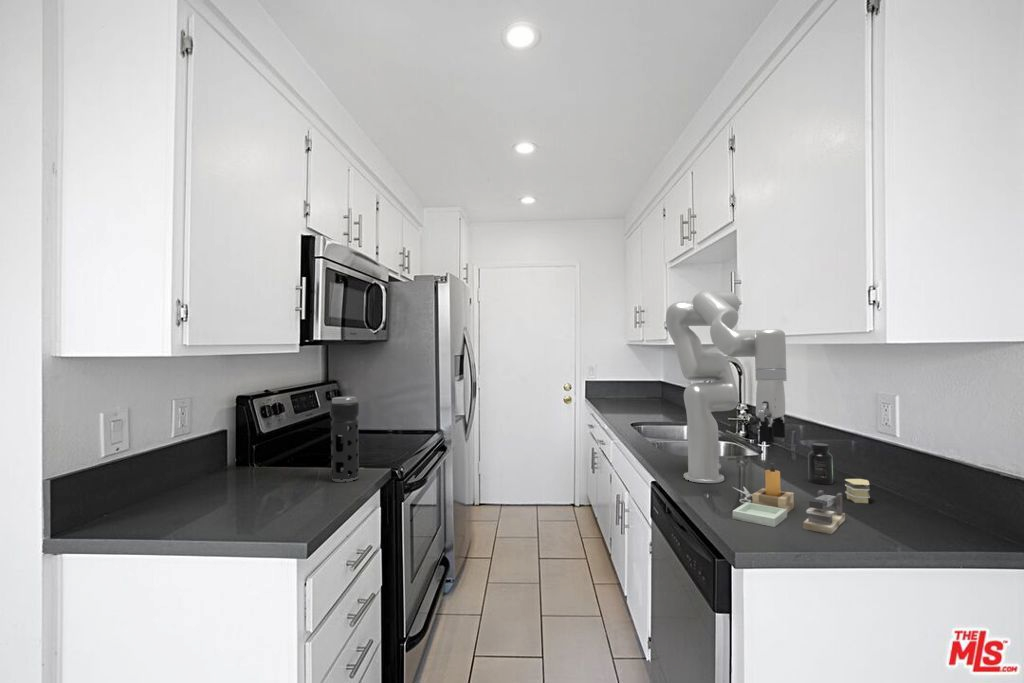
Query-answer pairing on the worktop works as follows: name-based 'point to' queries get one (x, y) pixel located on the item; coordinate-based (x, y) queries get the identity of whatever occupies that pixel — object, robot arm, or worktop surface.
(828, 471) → the supplement bottle
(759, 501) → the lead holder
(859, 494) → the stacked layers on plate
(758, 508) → the tray
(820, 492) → the base
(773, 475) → the plug
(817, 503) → the lever
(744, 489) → the scissors
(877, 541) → the worktop surface
